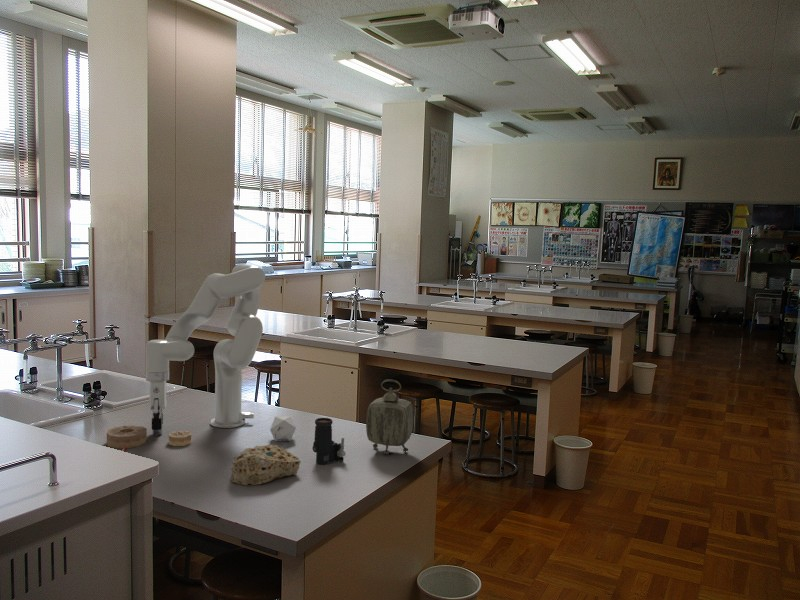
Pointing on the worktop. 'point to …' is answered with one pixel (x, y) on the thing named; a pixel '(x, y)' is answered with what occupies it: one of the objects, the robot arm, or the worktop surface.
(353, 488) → the worktop surface
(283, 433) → the die
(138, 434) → the bead
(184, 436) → the beige short cylinder
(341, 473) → the worktop surface
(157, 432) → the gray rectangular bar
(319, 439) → the scope
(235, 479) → the rock
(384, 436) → the tabletop clock
